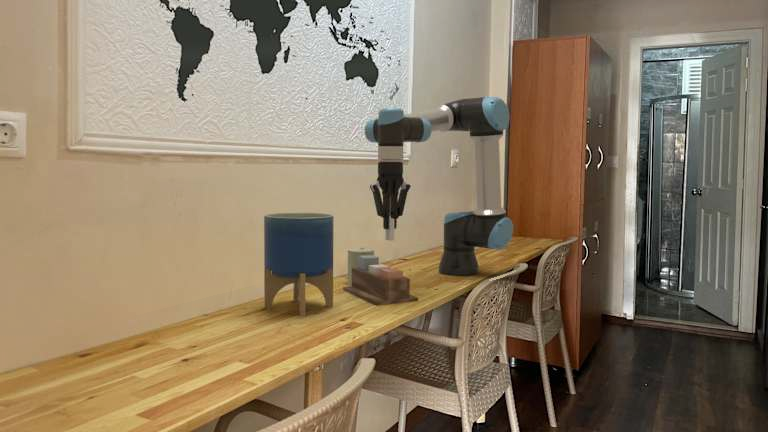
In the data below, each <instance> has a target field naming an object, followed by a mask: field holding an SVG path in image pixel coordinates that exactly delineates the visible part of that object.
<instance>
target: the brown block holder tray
mask: <svg viewBox="0 0 768 432" xmlns="http://www.w3.org/2000/svg"><path fill="white" fill-rule="evenodd" d="M410 281H411V278H409V277H406V276H403V279H392V280H386V279H383V278H381V277H380V275H373V274H370V273H369V271H362V270H359V269H358V267H357V268H352V285H350V286H347V285H346V286H342V289H343V291H345V292H347V293H349V294H351V295H353V296H355V297H358V298H359V299H362V300H364V301H366V302H368V303H370V304H372V305H375V306H383V305H393V304H394V305H395V304H403V303H411V302H413V303H414V302H418V301H419V297H418V296H415V295H412V294H410V290H411V289H410V285H411V284H410Z"/></svg>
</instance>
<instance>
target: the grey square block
mask: <svg viewBox="0 0 768 432" xmlns="http://www.w3.org/2000/svg"><path fill="white" fill-rule="evenodd" d="M379 258H380V257H378V256H376V255H374V256H373V255H366V256H358V269H359V270H362V271H369V265H379V264H380V259H379Z"/></svg>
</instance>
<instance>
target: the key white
mask: <svg viewBox="0 0 768 432" xmlns="http://www.w3.org/2000/svg"><path fill="white" fill-rule="evenodd" d="M380 269H391V266H389V265H386V264H383V263H379V265H369V273H370V274H373V275H380Z"/></svg>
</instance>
